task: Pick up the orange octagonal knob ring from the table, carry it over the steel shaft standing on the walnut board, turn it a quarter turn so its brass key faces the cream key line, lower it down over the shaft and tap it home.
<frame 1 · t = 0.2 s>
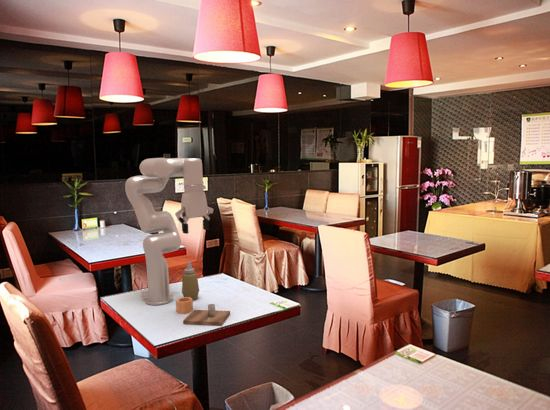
hand: (196, 231, 167), 36 cm above the table, tool pointing down, fingers open, 9 cm apart
squeeze bottle: (191, 299, 196), on the table
hub board: (207, 319, 170), on the table
knob: (184, 310, 180), on the table
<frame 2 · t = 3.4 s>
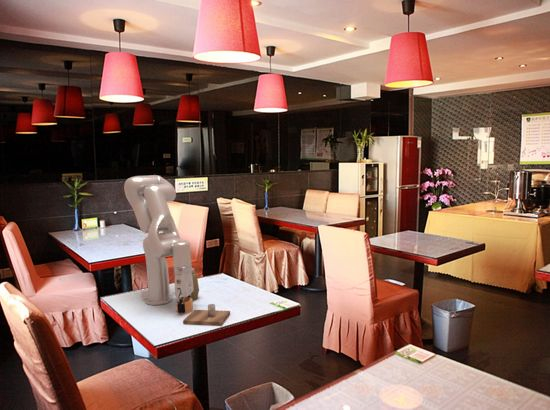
hand: (184, 309, 180), 1 cm above the table, tool pointing down, fingers closed on knob, 6 cm apart
knob: (184, 310, 180), on the table, touching gripper
everything else where it was.
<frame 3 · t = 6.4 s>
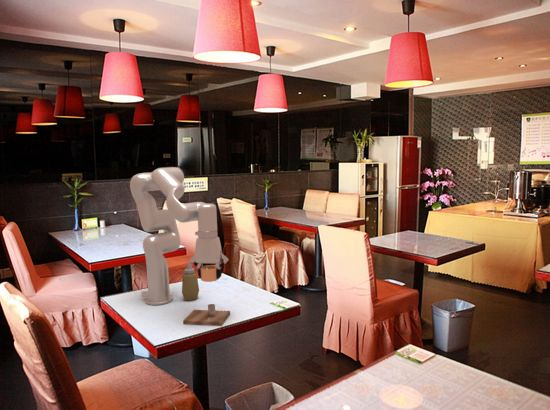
hand: (209, 277, 168), 18 cm above the table, tool pointing down, fingers closed on knob, 6 cm apart
knob: (210, 279, 168), point 17 cm above the table, touching gripper
everything else where it was.
when the fingers open (4 cm above the table, at t = 9.8 s): knob drops 1 cm, resting on hub board.
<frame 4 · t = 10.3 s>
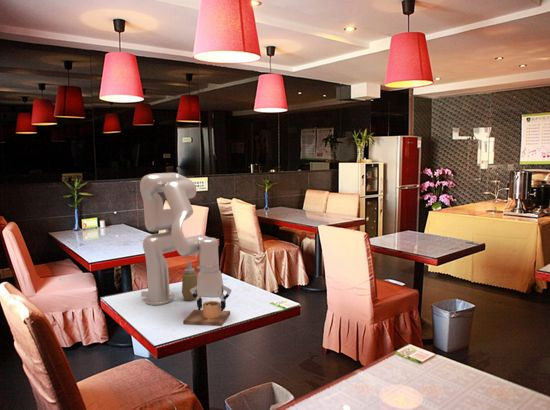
hand: (211, 309, 169), 4 cm above the table, tool pointing down, fingers open, 9 cm apart
knob: (212, 315, 170), point 2 cm above the table, touching hub board
everything else where it was.
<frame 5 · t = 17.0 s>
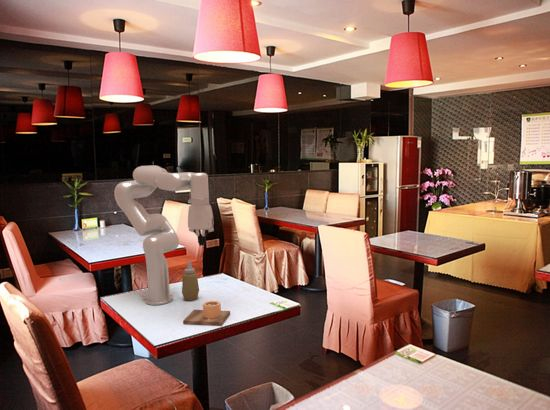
hand: (202, 244, 176), 29 cm above the table, tool pointing down, fingers closed
nothing on the table moved.
at the end: knob 0.1 cm from the target spot on the hub board, point 1.6 cm above the hub board's base; knob tilted 2°; the gripper is holding nothing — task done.
